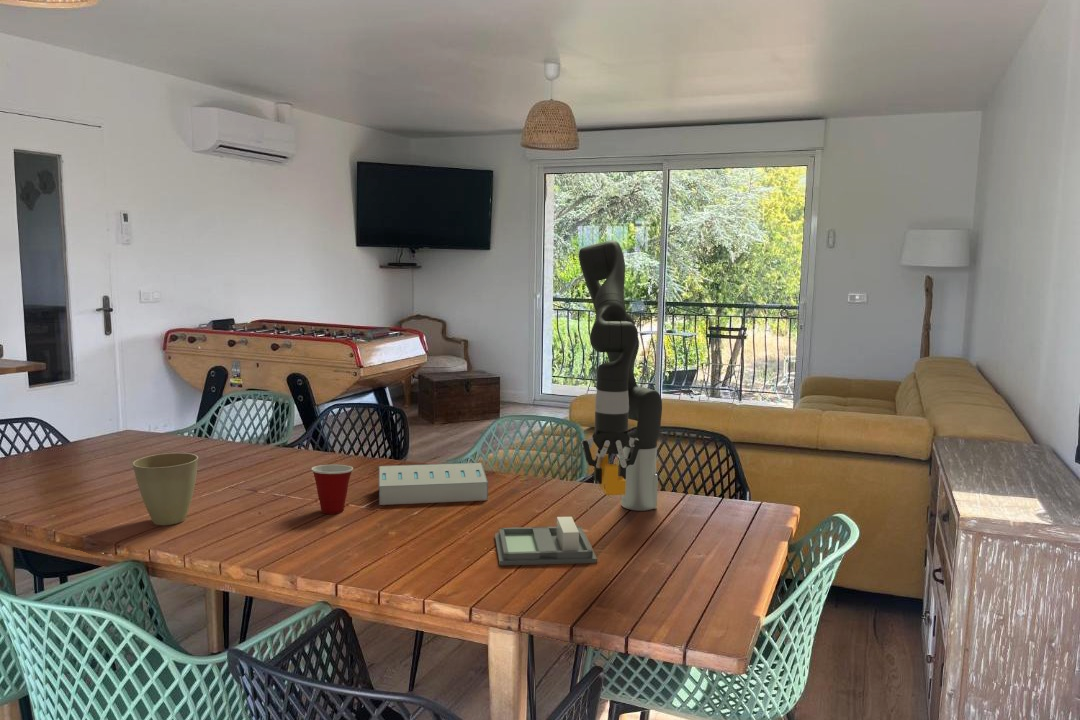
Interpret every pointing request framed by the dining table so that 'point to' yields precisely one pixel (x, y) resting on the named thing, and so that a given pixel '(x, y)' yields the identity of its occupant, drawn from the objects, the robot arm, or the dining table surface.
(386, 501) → the warehouse
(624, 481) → the orange stepped block
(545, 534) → the dock
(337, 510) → the plastic cup
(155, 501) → the plant pot
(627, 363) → the robot arm
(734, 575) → the dining table surface
